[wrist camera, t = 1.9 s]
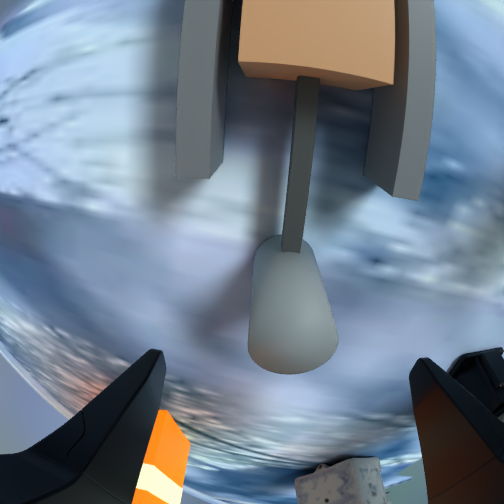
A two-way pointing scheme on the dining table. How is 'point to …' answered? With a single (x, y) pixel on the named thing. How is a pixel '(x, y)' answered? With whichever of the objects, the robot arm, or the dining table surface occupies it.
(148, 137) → the dining table surface
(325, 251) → the dining table surface
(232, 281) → the dining table surface
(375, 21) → the block
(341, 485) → the incense holder
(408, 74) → the frame
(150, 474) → the orange juice
